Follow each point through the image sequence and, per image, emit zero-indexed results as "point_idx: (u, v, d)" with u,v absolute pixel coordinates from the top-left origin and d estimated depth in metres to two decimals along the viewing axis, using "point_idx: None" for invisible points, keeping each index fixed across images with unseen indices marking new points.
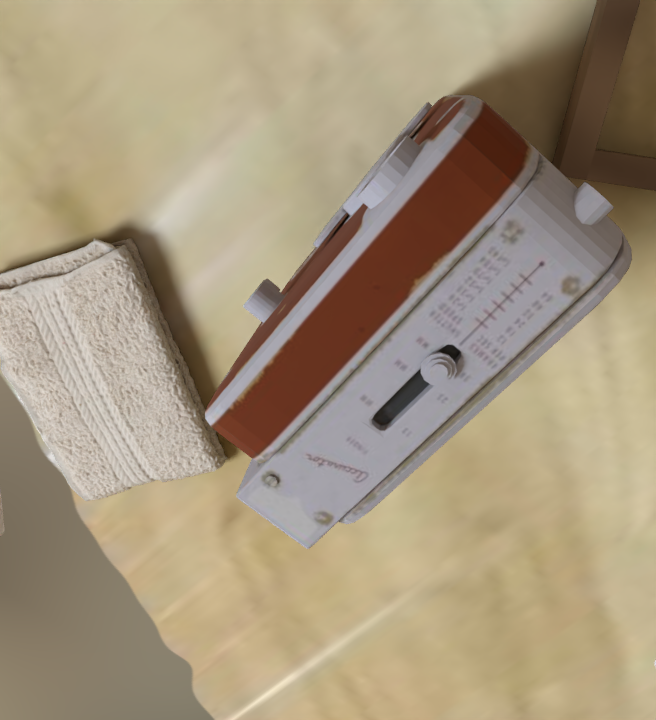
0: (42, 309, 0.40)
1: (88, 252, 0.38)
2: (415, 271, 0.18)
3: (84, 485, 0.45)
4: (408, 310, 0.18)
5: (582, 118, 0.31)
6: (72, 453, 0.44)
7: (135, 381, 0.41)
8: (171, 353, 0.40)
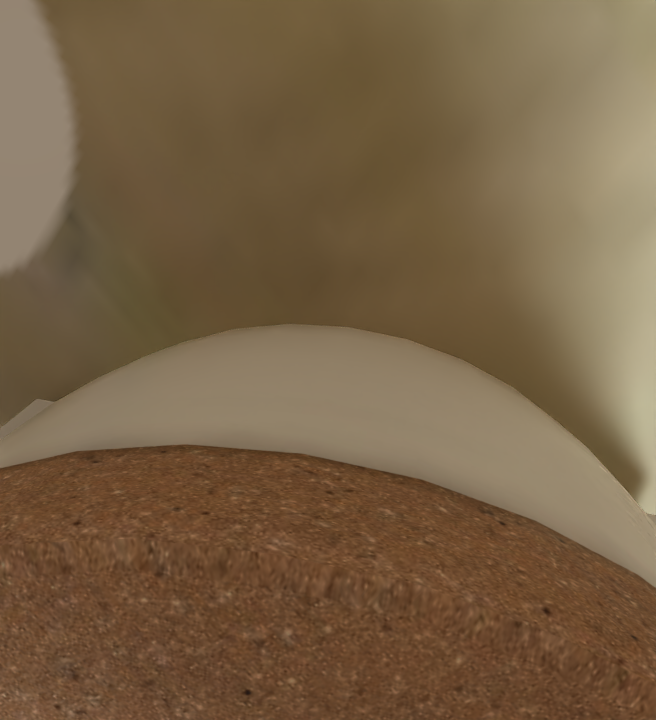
0: None
1: None
2: None
3: None
4: None
5: None
6: None
7: None
8: None
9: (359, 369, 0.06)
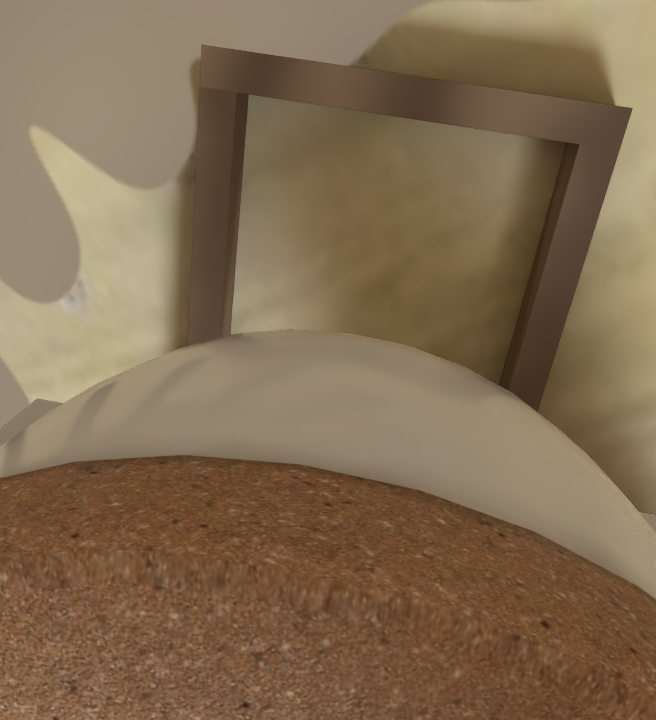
0: None
1: None
2: None
3: None
4: None
5: None
6: None
7: None
8: None
9: (358, 377, 0.06)
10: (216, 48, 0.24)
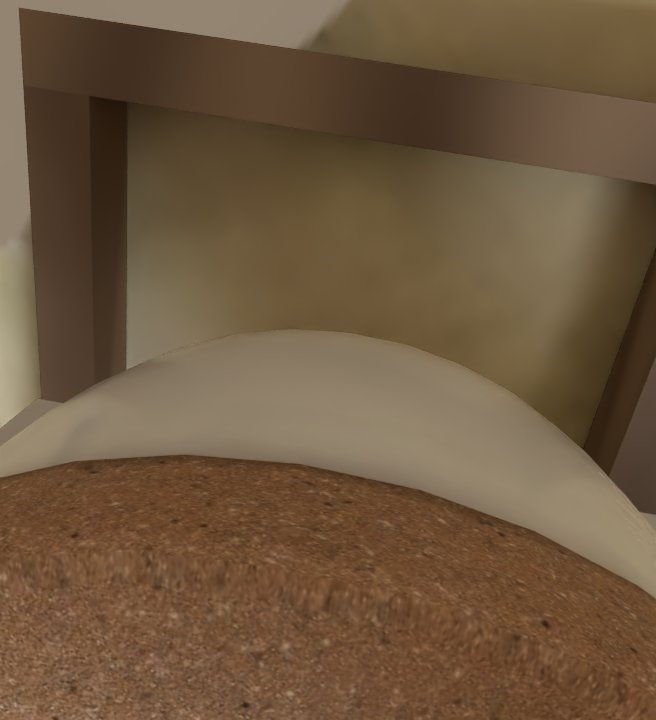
0: None
1: None
2: None
3: None
4: None
5: None
6: None
7: None
8: None
9: (358, 376, 0.06)
10: (46, 14, 0.13)
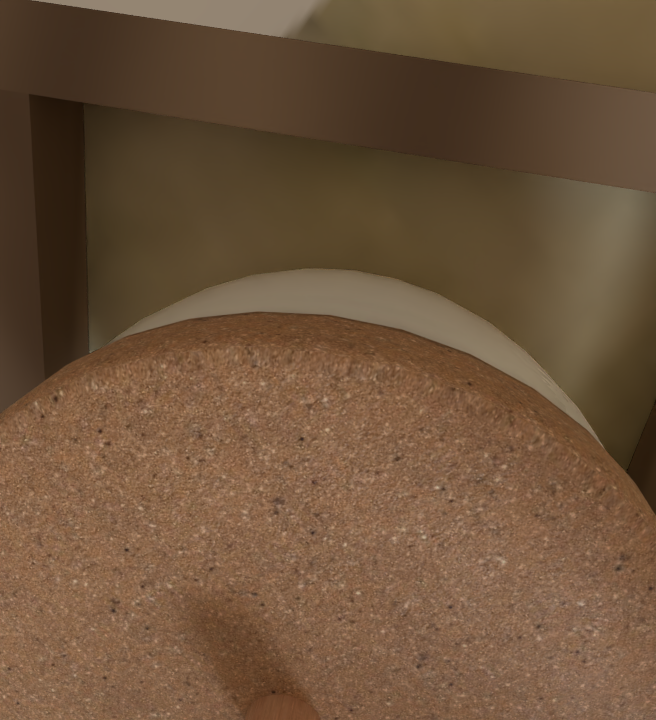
0: None
1: None
2: None
3: None
4: None
5: None
6: None
7: None
8: None
9: (362, 285, 0.09)
10: None
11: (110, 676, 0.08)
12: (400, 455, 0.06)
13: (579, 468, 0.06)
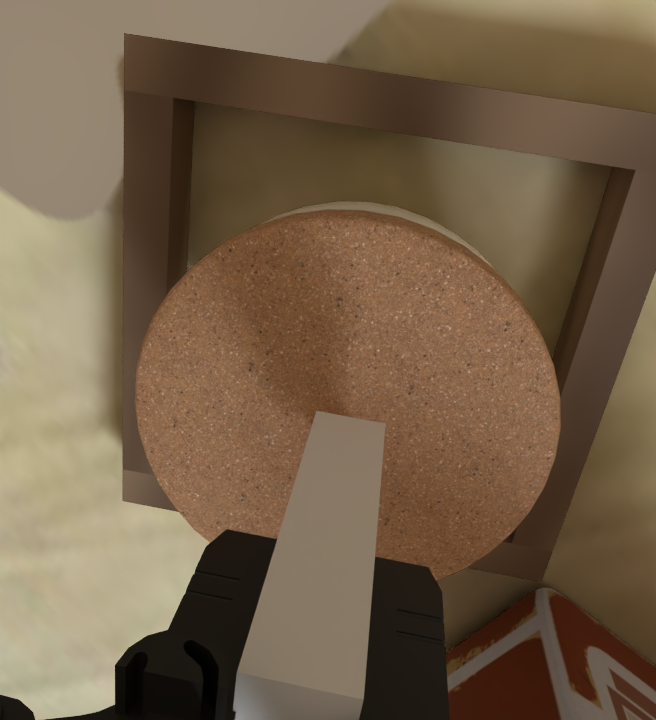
0: None
1: None
2: None
3: None
4: None
5: None
6: None
7: None
8: None
9: (378, 205, 0.16)
10: (144, 38, 0.18)
11: (244, 413, 0.15)
12: (399, 272, 0.13)
13: (484, 277, 0.13)
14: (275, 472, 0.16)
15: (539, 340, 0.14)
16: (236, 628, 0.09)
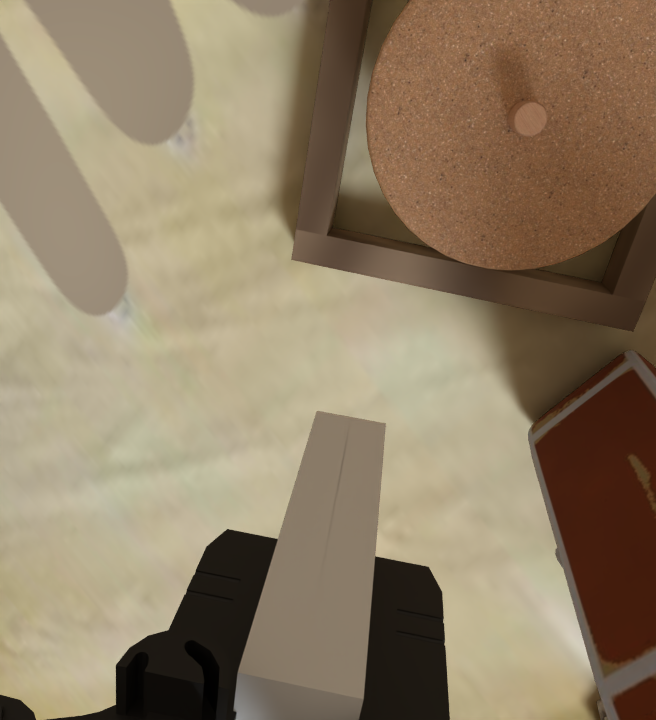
0: None
1: None
2: None
3: None
4: None
5: (574, 310, 0.29)
6: None
7: None
8: None
9: None
10: None
11: (455, 99, 0.21)
12: None
13: None
14: (470, 152, 0.21)
15: None
16: (236, 628, 0.09)
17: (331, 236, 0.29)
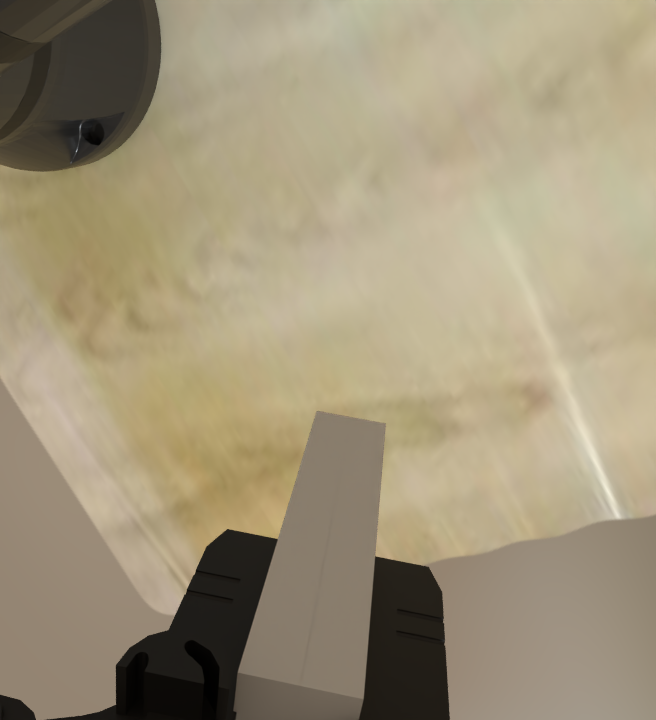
0: None
1: None
2: None
3: None
4: None
5: None
6: None
7: None
8: None
9: None
10: None
11: None
12: None
13: None
14: None
15: None
16: (236, 628, 0.09)
17: None
